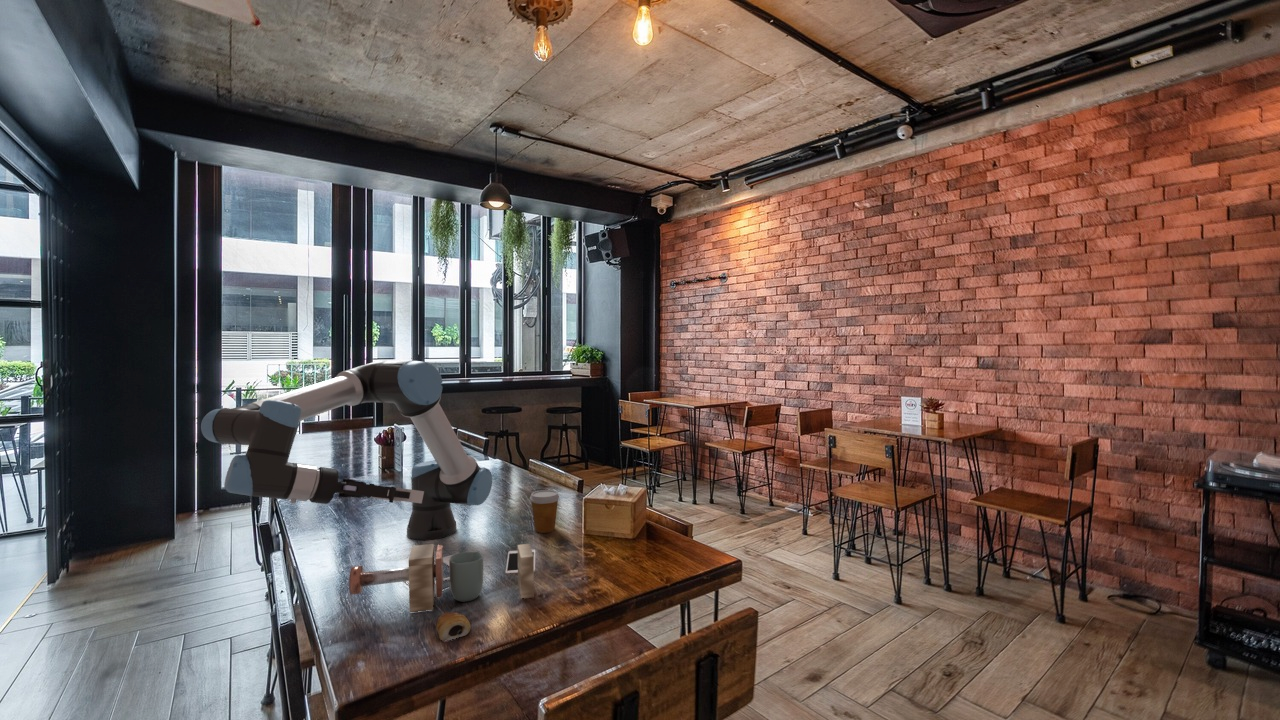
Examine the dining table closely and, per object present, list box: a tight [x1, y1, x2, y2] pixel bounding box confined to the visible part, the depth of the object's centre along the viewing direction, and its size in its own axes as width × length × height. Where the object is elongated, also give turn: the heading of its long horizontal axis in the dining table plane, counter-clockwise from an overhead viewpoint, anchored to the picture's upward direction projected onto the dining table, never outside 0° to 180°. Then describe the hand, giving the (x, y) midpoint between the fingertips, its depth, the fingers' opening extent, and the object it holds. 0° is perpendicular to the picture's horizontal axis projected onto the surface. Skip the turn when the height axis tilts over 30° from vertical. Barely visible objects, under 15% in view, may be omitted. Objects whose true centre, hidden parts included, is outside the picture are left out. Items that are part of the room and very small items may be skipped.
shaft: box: [348, 544, 444, 598], centre depth 132 cm, size 20×9×9 cm, turn 107°
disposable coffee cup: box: [529, 489, 560, 534], centre depth 186 cm, size 10×10×12 cm
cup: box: [448, 550, 484, 603], centre depth 137 cm, size 8×8×10 cm
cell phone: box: [505, 549, 536, 575], centre depth 160 cm, size 8×16×1 cm, turn 10°
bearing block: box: [408, 543, 436, 613], centre depth 134 cm, size 5×9×12 cm, turn 17°
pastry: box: [435, 611, 472, 642], centre depth 122 cm, size 9×7×4 cm
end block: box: [517, 543, 535, 600], centre depth 141 cm, size 3×9×10 cm, turn 17°
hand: (411, 496), depth 135 cm, fingers open, 13 cm apart
